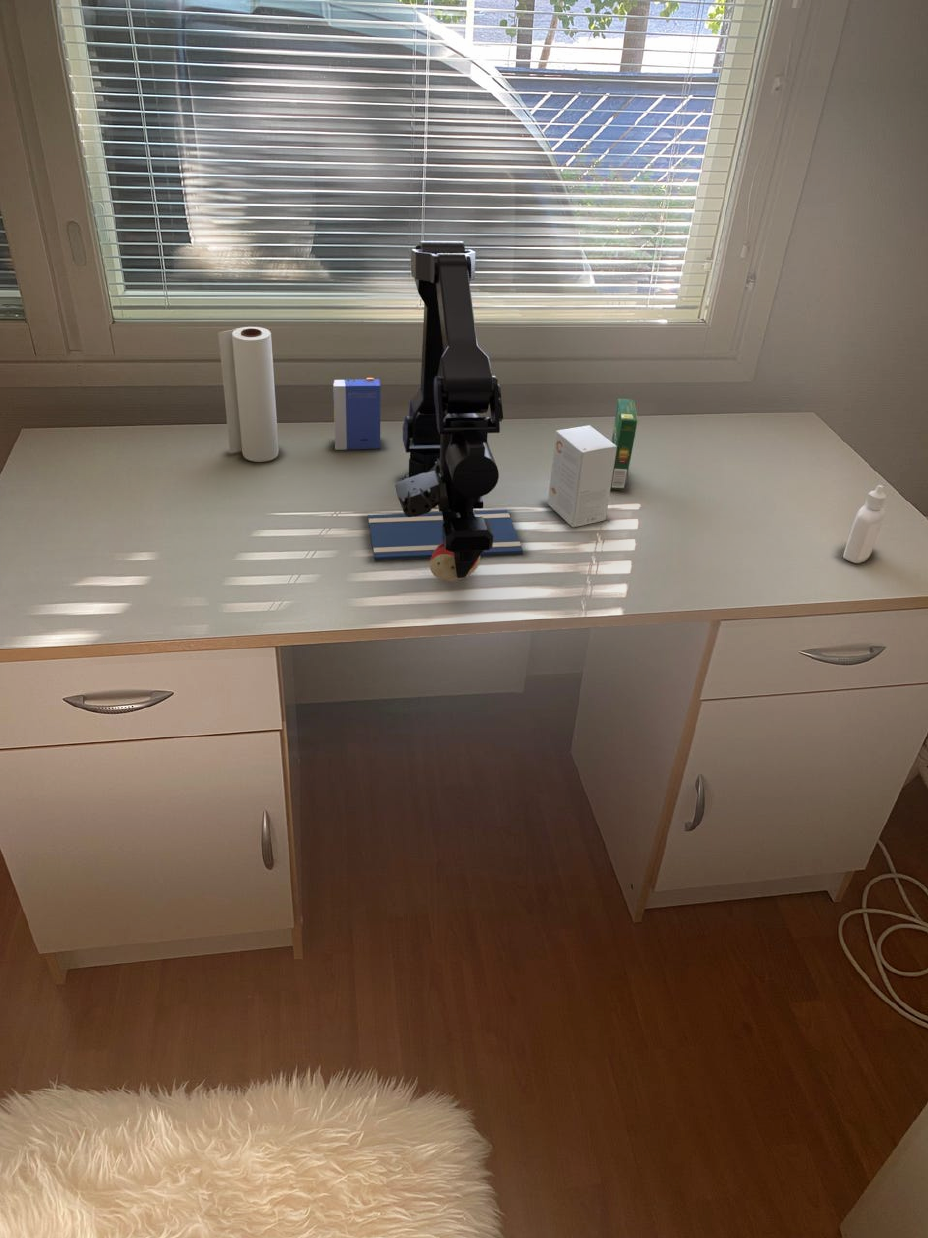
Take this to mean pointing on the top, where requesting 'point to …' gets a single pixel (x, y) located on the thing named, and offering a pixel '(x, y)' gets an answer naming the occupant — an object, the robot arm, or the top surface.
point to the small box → (581, 475)
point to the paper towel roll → (249, 392)
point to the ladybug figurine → (446, 564)
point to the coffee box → (623, 441)
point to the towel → (433, 535)
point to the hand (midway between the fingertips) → (455, 559)
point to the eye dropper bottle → (866, 527)
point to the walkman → (357, 414)
